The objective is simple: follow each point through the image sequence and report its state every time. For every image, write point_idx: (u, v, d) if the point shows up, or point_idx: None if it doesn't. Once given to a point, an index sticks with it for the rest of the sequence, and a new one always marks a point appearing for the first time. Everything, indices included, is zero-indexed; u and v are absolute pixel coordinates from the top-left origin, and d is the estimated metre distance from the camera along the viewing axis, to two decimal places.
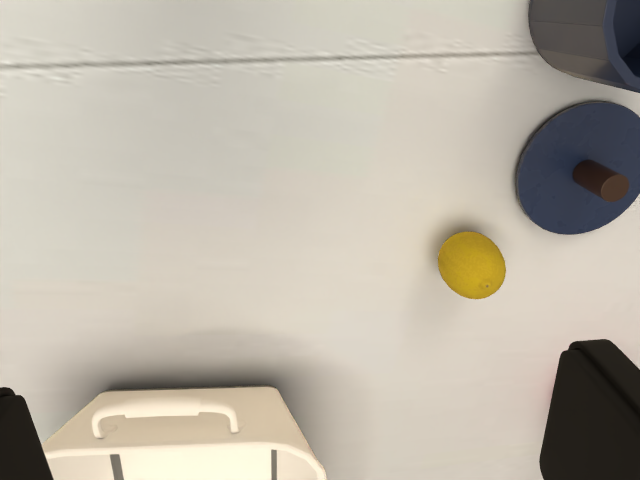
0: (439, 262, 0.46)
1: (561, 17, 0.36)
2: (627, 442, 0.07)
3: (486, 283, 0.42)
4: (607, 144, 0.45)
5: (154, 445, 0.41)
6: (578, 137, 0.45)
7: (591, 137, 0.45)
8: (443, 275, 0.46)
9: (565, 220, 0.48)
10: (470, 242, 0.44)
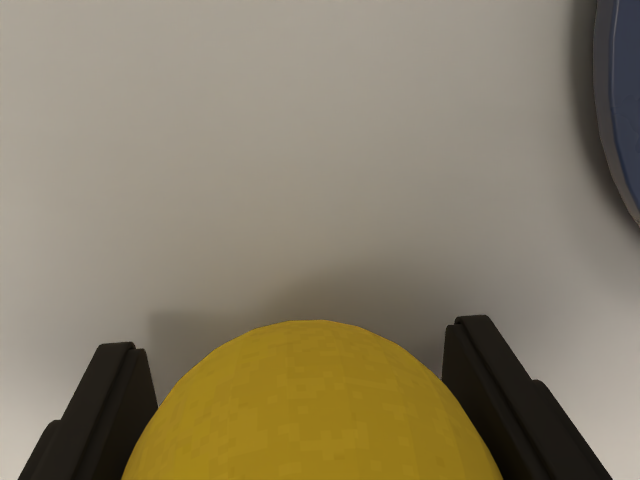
0: None
1: None
2: (481, 402, 0.08)
3: None
4: None
5: None
6: None
7: None
8: None
9: None
10: (254, 455, 0.05)
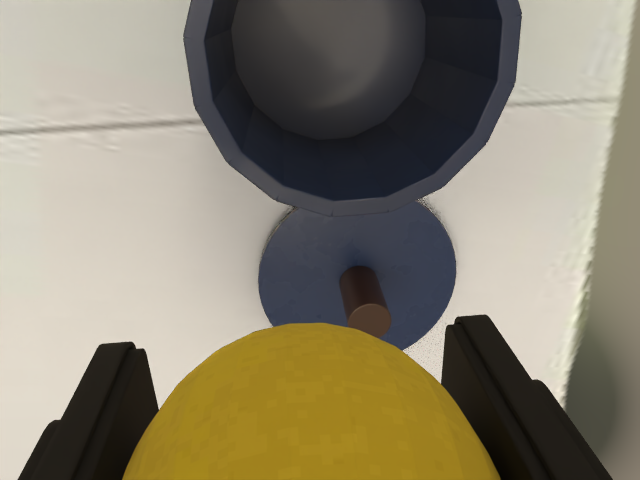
0: None
1: None
2: (481, 402, 0.08)
3: None
4: (382, 244, 0.31)
5: None
6: (336, 236, 0.31)
7: (355, 236, 0.31)
8: None
9: None
10: (254, 460, 0.05)
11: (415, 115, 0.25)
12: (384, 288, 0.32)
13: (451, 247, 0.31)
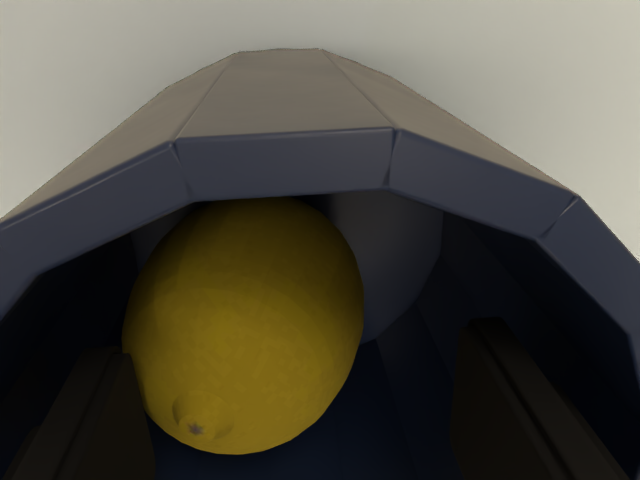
0: None
1: None
2: (498, 406, 0.08)
3: (187, 418, 0.09)
4: None
5: None
6: None
7: None
8: None
9: None
10: (206, 226, 0.11)
11: (425, 377, 0.15)
12: None
13: None
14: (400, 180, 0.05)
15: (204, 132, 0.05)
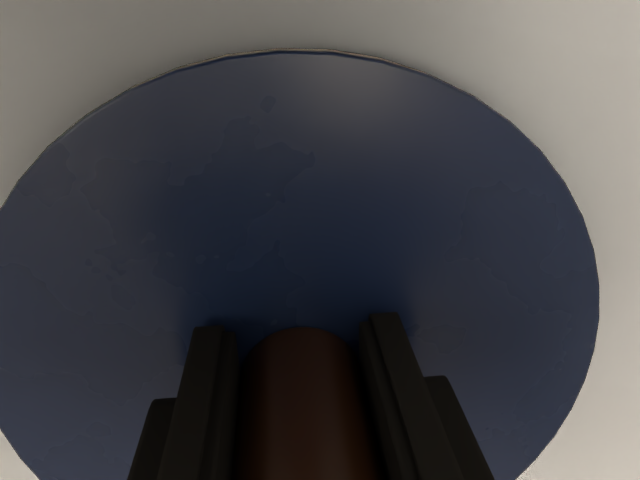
0: None
1: None
2: (376, 397, 0.08)
3: None
4: (378, 261, 0.09)
5: None
6: (220, 233, 0.09)
7: (288, 232, 0.09)
8: None
9: None
10: None
11: None
12: None
13: (593, 273, 0.10)
14: None
15: None
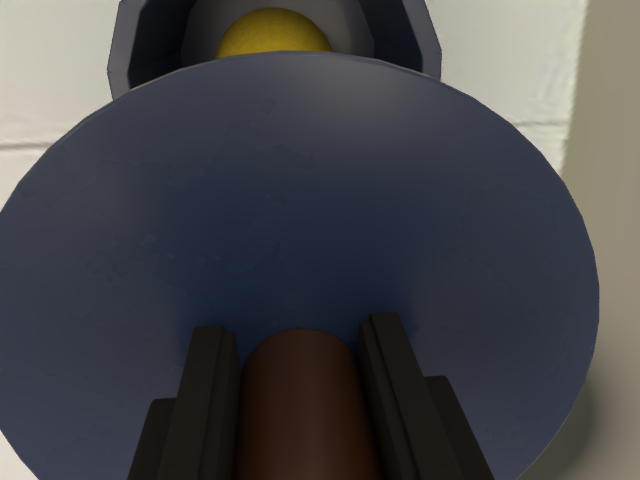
0: None
1: None
2: (376, 397, 0.08)
3: None
4: (378, 263, 0.09)
5: None
6: (220, 234, 0.09)
7: (288, 234, 0.09)
8: None
9: None
10: (257, 12, 0.21)
11: None
12: None
13: (593, 275, 0.10)
14: None
15: None
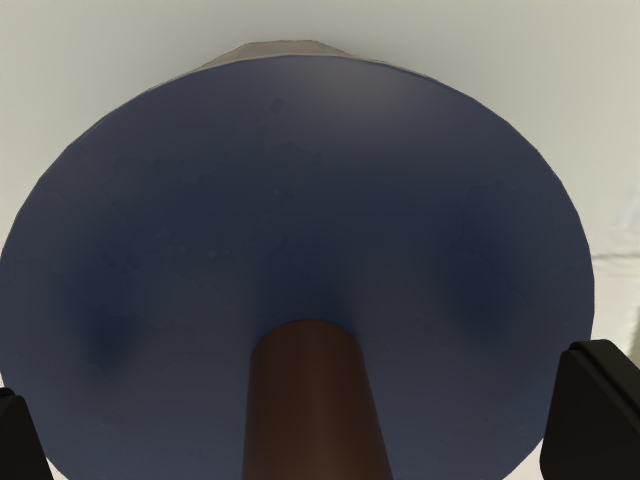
0: None
1: None
2: (627, 442, 0.07)
3: None
4: (381, 256, 0.10)
5: None
6: (230, 228, 0.09)
7: (296, 228, 0.09)
8: None
9: None
10: None
11: None
12: (383, 382, 0.11)
13: (589, 268, 0.10)
14: None
15: None
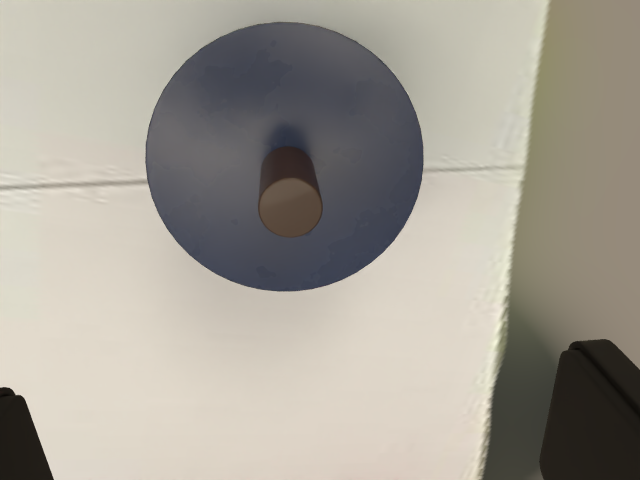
0: None
1: None
2: (627, 442, 0.07)
3: None
4: (320, 115, 0.22)
5: None
6: (253, 99, 0.22)
7: (281, 100, 0.22)
8: None
9: (270, 265, 0.25)
10: None
11: None
12: (324, 182, 0.23)
13: (417, 123, 0.23)
14: None
15: None
